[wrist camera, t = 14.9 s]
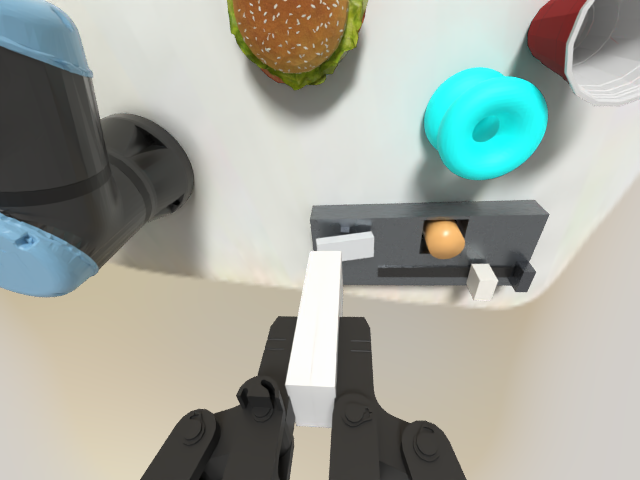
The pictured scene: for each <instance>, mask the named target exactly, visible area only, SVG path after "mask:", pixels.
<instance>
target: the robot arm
mask: <svg viewBox="0 0 640 480" xmlns="http://www.w3.org/2000/svg"><path fill="white" fill-rule="evenodd" d="M92 78H93V73H92V71H91V70H90V69H89V67H88V64H87V60H86V57H85V53H84V49H83V46H82V42H81V38H80V35H79V32H78V29H77V27H76V25H75V24H74V22H73V21H72V20H71V18H70V17H69V16H68V15H67V14H66V13H65V12H63V11H62V10H61V9H60V8H58V7H56V6H55V5H53V4H51V3H49V2H47V1H44V0H0V287H1V288H4V289H7V290H10V291H13V292H16V293H20V294H24V295H29V296H35V297H57V296H62V295H65V294H67V293H69V292H72V291H73V290H75V289H76V288H77V287H79V286H80V285H81V284H82V283H83V282H84V281H86V280H87V279H88V278H89V277H91V276H94V275H95V274H96V273H97V272H98V270H99V269H100V268H101V267H102V266H103V265H104V264H105V263H106V262H107V261H108V260H109V259H110V258H111V257H112V256H113V255H114V254H115V253H116V252H117V251H118V250H119V249H120V248H121V247H122V246H123V245H124V244H125V243H126V242H127V241H128V240H129V239H130V238H131V237H132V236H133V235H134V234H135V233H136V232H137V231H138V230H139V229H140V228H141V227H142V226H143V225H144V224H145V223H147V222H150V221H153V220H155V219H158V218H161V217H164V216H166V215H169V214H171V213H173V212H175V211H176V210H177V209H179V208H180V207H181V206H182V205H183V204H184V203H185V201H186V200H187V199H188V198H189V196H190V194H191V192H192V189H193V171H192V167H191V164H190V162H189V159H188V157H187V155H186V153H185V152H184V150H183V149H182V147H181V146H180V145H179V143H178V142H177V141H176V140H175V139H174V138H173V137H172V136H171V135H170V134H169V133H168V132H167V131H166V130H164V129H163V128H162V127H160V126H159V125H157V124H156V123H154V122H152V121H150V120H148V119H146V118H143V117H140V116H137V115H133V114H114V115H110V116H108V117H105V118H102V119H100V116H99V111H98V107H97V102H96V97H95V92H94V87H93V82H92ZM342 309H343V278H342V256H341V251H310V254H309V259H308V265H307V270H306V275H305V281H304V286H303V292H302V297H301V303H300V308H299V313H298V317H281V316H278V318H277V319H276V320H275V322H274V323H273V324H272V325H271V327H270V331H269V335H268V340H267V343H266V346H265V350H264V353H263V357H262V361H261V365H260V368H259V372H258V376H256V377H253V378H251V379H249V380H247V381H246V382H245V383H244V384H243V385H242V386H241V387H240V389H239V391H238V393H237V395H236V396H237V398H238V401H239V403H240V405H238V406H236V407H234V408H231V409H228V410H225V411H221V412H218V413H215V414H213V413H211V412H210V411H208V410H206V409H197V410H194V411H191V412H190V413H188V414H187V415H185V416H184V417H183V418H182V419H181V420H180V421H179V422H178V423H177V425H176V426H175V427H174V429H173V430H172V432H171V434H170V435H169V437H168V438H167V440H166V441H165V443H164V444H163V446H162V447H161V449H160V450H159V452H158V453H157V455H156V456H155V458H154V459H153V461H152V463H151V464H150V465H149V467H148V469H147V470H146V472H145V473H144V475H143V476H142V478H141V479H140V480H289V479H290V472H291V465H292V457H293V450H294V437H293V430H294V423H296V426H309V427H326V428H332V432H331V450H330V470H329V480H466V478H465V475H464V473H463V471H462V469H461V466H460V464H459V462H458V460H457V458H456V455H455V453H454V451H453V449H452V446H451V444H450V442H449V440H448V439H447V437H446V435H445V434H444V432H443V431H442V430H441V429H439V428H438V427H437V426H436V425H435V424H432V423H429V422H427V421H415V422H412V423H408V422H406V421H403V420H401V419H399V418H396V417H394V416H392V415H390V414H388V413H387V412H386V411H384V409H382V408H381V406H380V405H379V404H378V402H377V400H376V397H375V394H374V386H373V370H372V353H371V336H370V327H369V325H368V323H367V321H366V320H365V318H364V317H342Z"/></svg>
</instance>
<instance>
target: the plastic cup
mask: <svg viewBox="0 0 640 480" xmlns="http://www.w3.org/2000/svg"><path fill="white" fill-rule="evenodd" d="M528 47H529V49H530V51H531V53H532V55H533V56H534V57H535V58H537V59H538V60H540V61H541V63H542V64H544V65H545V66H547V67H548V68H550V69H551V70H553V71H554V72H556V73H557V74H559V75H560V76H562V77H563V79H564V80H566V81H567V82H568V84H570V86H571V88H572V90H573V93H574V94H575V95H577V96H578V97H580V98H582V99H583V100H585V101H587V102H589V103H590V104H592V105H594V106H622V105H625V104H628V103H631V102H634V101H637V100H639V99H640V0H550V1H549V2H548V3H547V4H545V5H544V6H543V7H542V8H541V9H540V10H539V12H538V13H537V14H536V16H535V17H534V19H533V20H532V22H531V25H530V28H529V31H528Z"/></svg>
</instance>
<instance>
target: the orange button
mask: <svg viewBox="0 0 640 480" xmlns="http://www.w3.org/2000/svg"><path fill="white" fill-rule="evenodd" d="M422 232H423V235H424V238H425V241H426V244H427V247H428V250H429V252H430V254H431V255H432V256H433V257H435V258H438V259H450V258H453V257H455V256H457V255H458V254H459V253H461V251H462V250H463V249H464V246H465V240H464V238H463V236H462V234H461V232H460V230H459V228H458V226H457V224H456V222H455V220H454V219H453V220H425V221H424V223H423V230H422Z"/></svg>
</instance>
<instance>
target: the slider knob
mask: <svg viewBox="0 0 640 480" xmlns="http://www.w3.org/2000/svg"><path fill="white" fill-rule="evenodd" d="M497 283H498V279H497V278H496V276H495V274H494V272H493V271H492V269H491V267H490V265H489V264H471V268H470V271H469V275H468V279H467V282H466V284H467V286H468V289H469V291H470V293H471V296H472V298H473V300H475V301H491V299H492V296H493V294H494V291H495V288H496V285H497Z"/></svg>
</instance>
